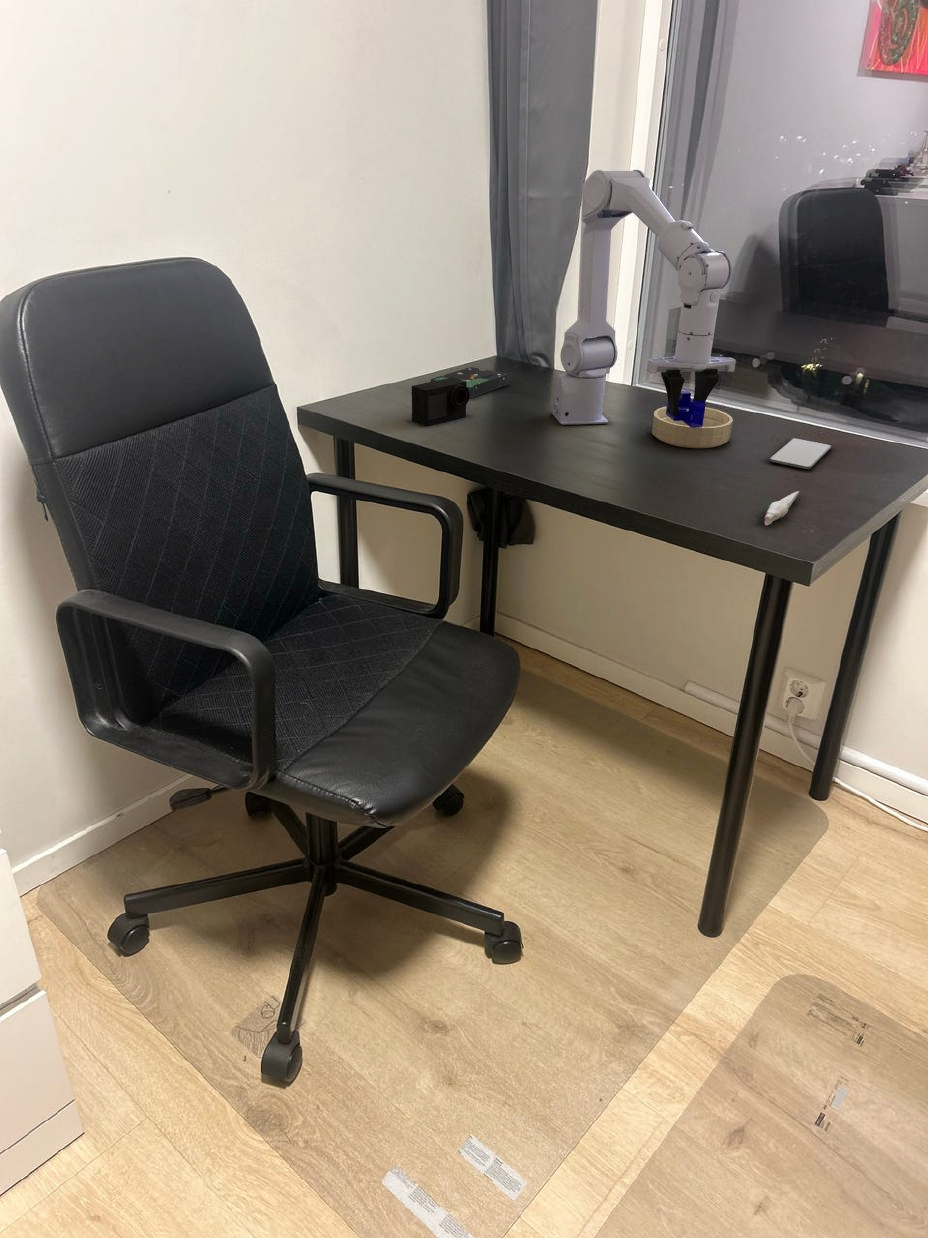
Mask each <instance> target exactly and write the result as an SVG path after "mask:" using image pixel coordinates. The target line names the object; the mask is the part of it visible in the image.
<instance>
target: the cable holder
mask: <svg viewBox="0 0 928 1238" xmlns="http://www.w3.org/2000/svg"><path fill="white" fill-rule="evenodd" d="M706 405H707V403H706V402H705V403H704V402H703V401H693V400H692V393H691V392H690V390H689V391H688V390H681V394H680V400H679V408H678V414H677V416H672V415H670V414H669V404H668V399H667V401H666V406H667V407H666V406H665V407H666V415H667V416H668V417H670V418H671V419H672V420H673V421H683V422H684V423H686V424H687V425H688V426H689V427H691V428H698V427H702V426H703V420H704V413H705V407H706Z"/></svg>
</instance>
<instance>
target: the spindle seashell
mask: <svg viewBox="0 0 928 1238" xmlns="http://www.w3.org/2000/svg"><path fill="white" fill-rule="evenodd" d="M799 493H800V491H799V490H798V491H797V490H796V491H794V492H792V493H790V494H788V495H787V496H785V497H783V498H781V499H780V500H777V501H773V502H771V504H770V505H768V508H767V510H766V512H765V516H764V522H763V523H764V526H767V527H768V526H770V525H771V524H773V522H774V521H778V520H779V519H782V518H784V517H785V516H786V515H787V514H788V513H789V508H790V507H791V506H792V505H793V503H794V502H795V500H796V498H797V497H798V495H799Z"/></svg>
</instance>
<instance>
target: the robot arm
mask: <svg viewBox="0 0 928 1238" xmlns="http://www.w3.org/2000/svg"><path fill="white" fill-rule="evenodd" d="M631 214H634V216H635V217H637V218H638V219H639V220H640V221H641V222H642V223H643V224H644V225H645V226H646V227H647V228H648V229H649V230H650V231H651V232H652V233H653V234H654V235H655V236H656V237H657V249H658V250H659V251H660V253H661V254H662V255H663V256H664V258H665V259H666V260H667V261H668V262H669V263H670V265H672V267H673V268H674V269H675V271H677V282H678V286H679V288H680V294H679V299H680V302H681V306H680V315H679V321H678V331H677V337H676V345H675V346H676V347H675V352H674V356H668V357H660V358H648V359H647V366H646V371H647V372H648V373H649V374H657V373H660V376H661V378H662V382H663V385H664V388H665V391H666V396H667V400H668V404H669V414H670V415H672V416H677V414H678V408H679V400H680V394H681V391H683V387H684V383H685V382H686V379H685V378H684V377H683V376H682V373H687V372H689V373H691V372H694V392H693V398H692V401H703V402H704V403H706V402H707V399H708V398H709V396H710V394H711V392H712V391H713V389H714V388H715V387H716V386H717V384H718V383H719V382H720V379H721V374H719V373H718V372H728V373H734V372H735V369H736V363H737V360H736V359H735V358H733V357H724V356H723V357H721V356H720V357H719V356H712V351H713V350H712V349H713V344H714V336H715V329H716V324H717V316H718V311H719V304H720V297H721V291H722V289H724V288H726V287H727V285H728V284H729V283H730V281H731V278H732V273H733V272H732V271H733V267H732V263H731V260H730V258H729V257H728V255H727V253H726V252H725V251H723V250H714V249H713V248H710V245H709V243H708V242H707V241H704V240H703V238H702V237H700V235H698V233H697V232H696V230H694V229H693V228H694V224H693V223H692V222H691V221H686V220H684V219H683V220H682V219H680V220H675V219H674V217H673V216H672V215H671V213H670V212H669V211H668V210H667V208H666V207H665V206H664V204H663V203H662V201H661V200H660V198H659V197H658V196H657V194H656V193H655V192H654V190H653V182H652V179H650V178H649V177H647V176H646V174H645V172H643V171H642V170H640V169H632V170H602V169H596V170H594V171H592V172H591V173H590V174H589V176H588V177H587V178H586V180H585V181H584V182H583V183H582V193H581V215H580V217H581V218H580V219H581V220H580V245H579V266H578V267H579V269H578V271H579V272H578V292H577V315H576V316H577V320H576V321H575V322H574V323H573V324H571V326H569V327H568V328H567V329H566V330H565V332H564V337H563V343H562V346H561V349H560V357H559V358H560V363H561V365H562V368H563V370H564V371H565V372H564V373H560V374H557V375H556V377H555V381H554V391H553V392H554V393H553V405H552V406H553V407H552V411H551V414H552V415H553V417H554V418H555V419H556V420H557V422H558V423H559V424H560V425H562V426H566V425H567V426H568V425H570V426H571V425H602V424H603V425H605V424H607V425H608V424H609V420H608V419H607V417H605V416H604V415H603V409H604V402H605V401H604V400H605V391H606V380H607V375H608V374H610V370H611V368H614V366H615V364H616V362H617V359H618V346H617V341H616V329H615V328H614V327H613V326H612V325H611V324H610V323H609V322H608V321H607V317H608V316H607V315H608V297H609V280H610V279H609V277H610V262H611V261H610V260H611V242H612V230H613V228H614V227H615V226H616V225H617V224H618V223H619V222H620V221H621V220H622V219H624V218H626V217H628V216H629V215H631Z"/></svg>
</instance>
